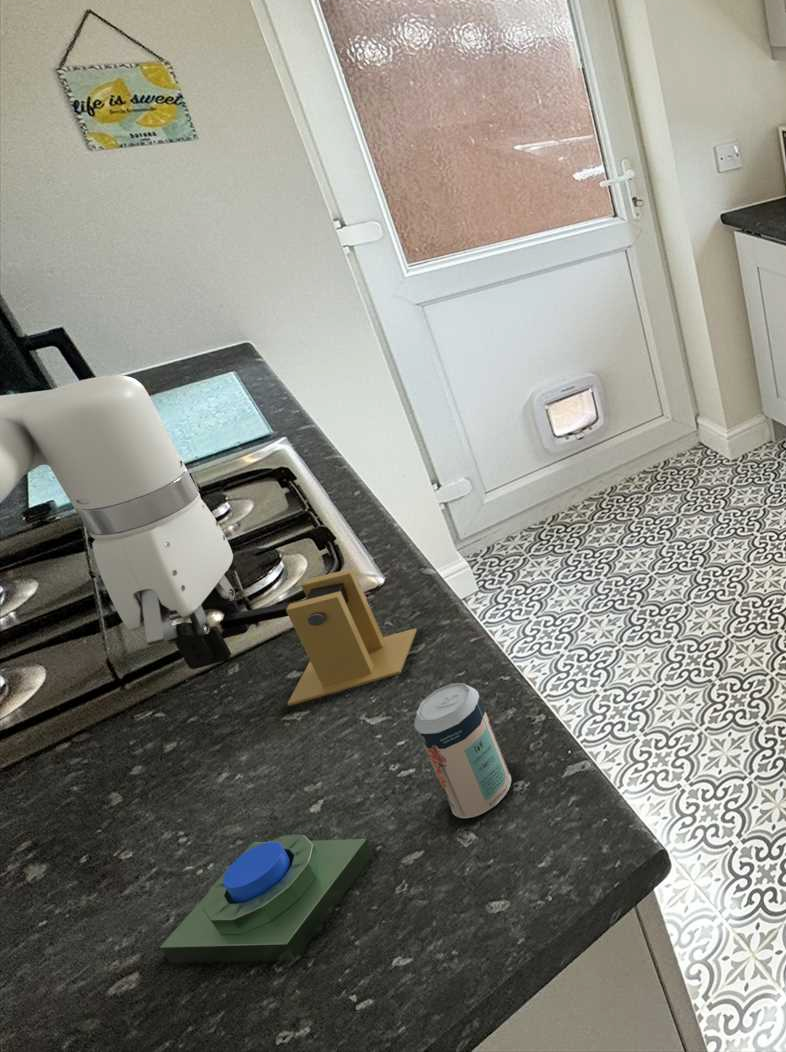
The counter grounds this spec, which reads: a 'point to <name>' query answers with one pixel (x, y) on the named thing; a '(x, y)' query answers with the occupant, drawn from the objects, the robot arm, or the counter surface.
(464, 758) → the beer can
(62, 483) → the robot arm
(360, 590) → the bracket
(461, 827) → the counter surface
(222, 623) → the black silver long piece
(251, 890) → the light button
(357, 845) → the button box
